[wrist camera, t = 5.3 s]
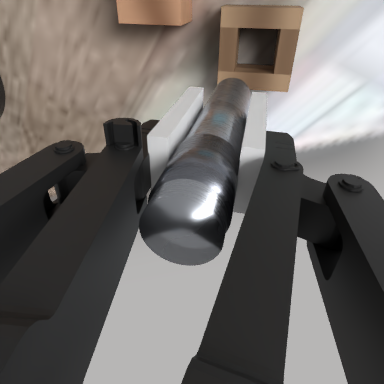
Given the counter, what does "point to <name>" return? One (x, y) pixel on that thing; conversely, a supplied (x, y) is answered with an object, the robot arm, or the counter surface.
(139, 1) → the block
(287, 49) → the block
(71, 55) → the counter surface
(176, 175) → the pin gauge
